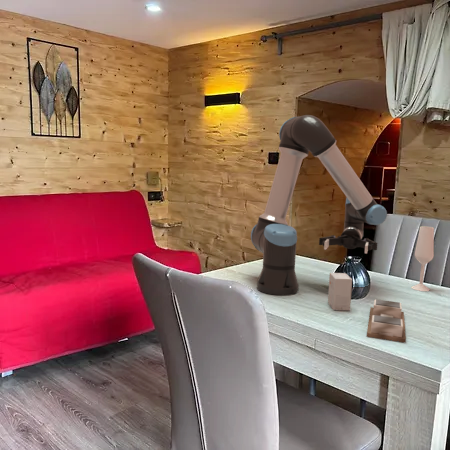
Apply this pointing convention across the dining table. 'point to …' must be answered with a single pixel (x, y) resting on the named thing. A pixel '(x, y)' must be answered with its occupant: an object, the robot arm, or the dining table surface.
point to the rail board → (386, 321)
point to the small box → (339, 291)
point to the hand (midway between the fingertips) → (345, 247)
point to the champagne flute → (424, 252)
